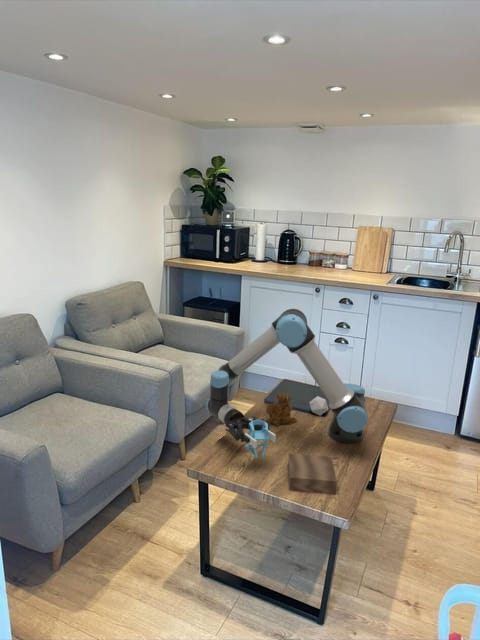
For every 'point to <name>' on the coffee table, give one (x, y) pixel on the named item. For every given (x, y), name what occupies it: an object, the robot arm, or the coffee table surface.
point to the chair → (258, 436)
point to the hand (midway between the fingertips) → (265, 441)
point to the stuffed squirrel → (281, 410)
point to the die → (318, 405)
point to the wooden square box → (311, 473)
